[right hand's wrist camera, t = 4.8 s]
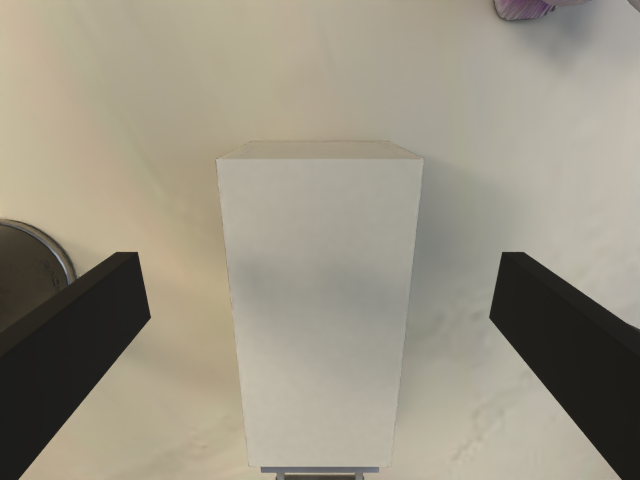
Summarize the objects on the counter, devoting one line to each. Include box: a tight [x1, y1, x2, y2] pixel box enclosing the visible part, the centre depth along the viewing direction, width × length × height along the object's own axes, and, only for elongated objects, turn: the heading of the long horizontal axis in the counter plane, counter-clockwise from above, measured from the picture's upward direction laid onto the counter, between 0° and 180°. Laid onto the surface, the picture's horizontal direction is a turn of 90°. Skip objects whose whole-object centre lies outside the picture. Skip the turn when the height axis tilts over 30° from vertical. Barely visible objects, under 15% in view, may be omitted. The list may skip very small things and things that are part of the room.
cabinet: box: [216, 141, 424, 467], centre depth 25 cm, size 22×10×9 cm, turn 0°
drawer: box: [261, 467, 379, 480], centre depth 27 cm, size 26×9×7 cm, turn 0°
